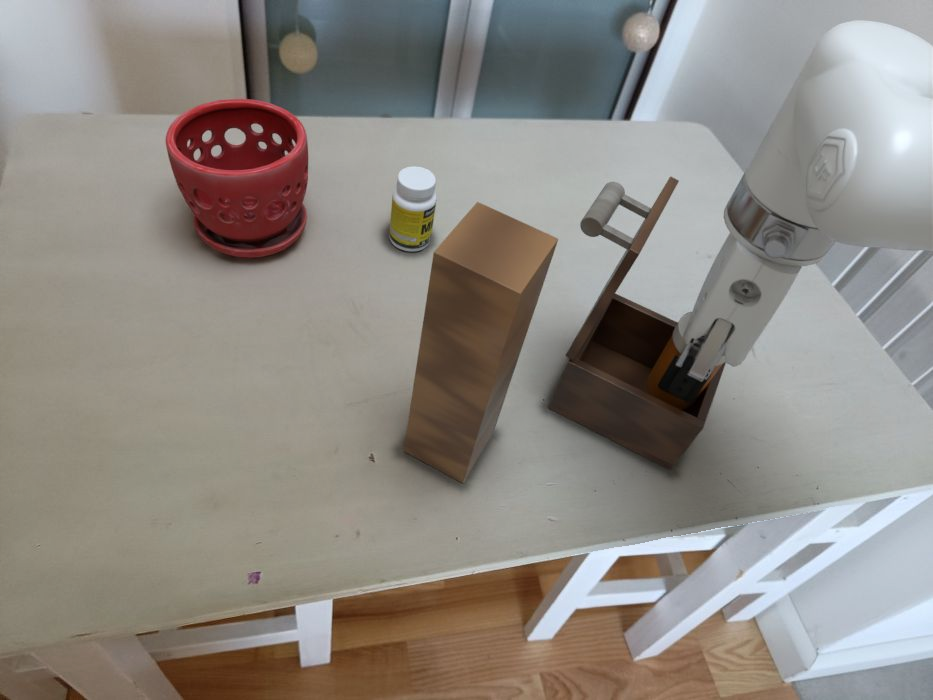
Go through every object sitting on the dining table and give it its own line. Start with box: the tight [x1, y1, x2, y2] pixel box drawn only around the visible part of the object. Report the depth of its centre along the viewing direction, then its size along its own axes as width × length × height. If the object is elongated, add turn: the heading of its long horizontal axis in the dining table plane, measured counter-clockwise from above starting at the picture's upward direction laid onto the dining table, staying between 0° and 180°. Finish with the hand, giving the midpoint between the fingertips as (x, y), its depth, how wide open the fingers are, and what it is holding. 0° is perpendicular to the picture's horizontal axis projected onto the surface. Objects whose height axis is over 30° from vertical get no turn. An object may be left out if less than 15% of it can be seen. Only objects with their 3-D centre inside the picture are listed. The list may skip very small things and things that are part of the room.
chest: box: [547, 292, 727, 471], centre depth 65 cm, size 13×11×7 cm
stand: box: [403, 201, 559, 484], centre depth 53 cm, size 6×6×24 cm
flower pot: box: [165, 98, 309, 259], centre depth 70 cm, size 13×13×12 cm
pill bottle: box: [647, 311, 725, 410], centre depth 61 cm, size 5×5×8 cm
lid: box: [565, 176, 680, 360], centre depth 58 cm, size 14×11×5 cm
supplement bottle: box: [388, 166, 438, 252], centre depth 74 cm, size 5×5×8 cm
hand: (683, 370), depth 61 cm, fingers closed on pill bottle, 4 cm apart
